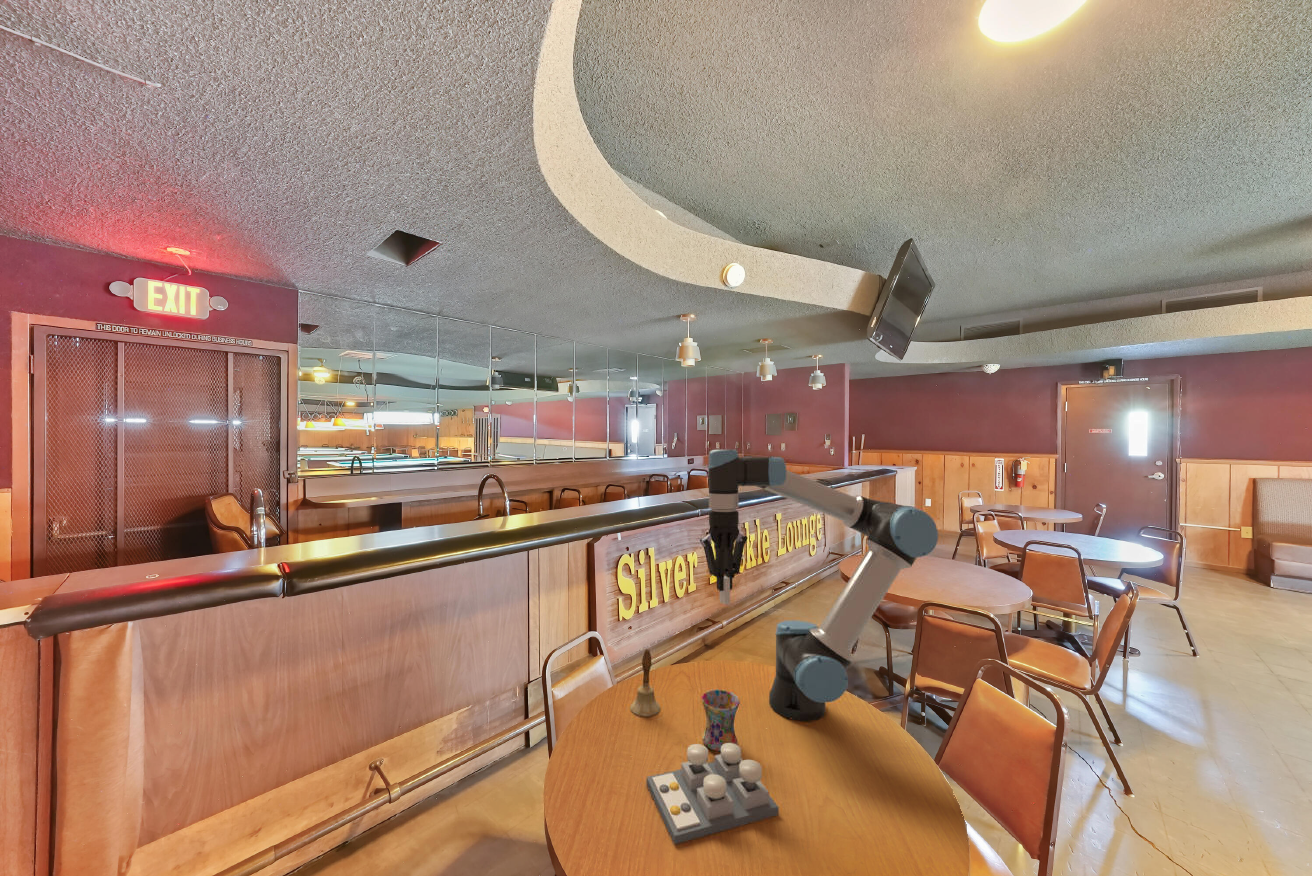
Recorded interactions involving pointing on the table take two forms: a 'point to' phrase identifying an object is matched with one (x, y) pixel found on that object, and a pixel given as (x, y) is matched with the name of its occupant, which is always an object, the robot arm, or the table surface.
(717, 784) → the button
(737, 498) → the robot arm
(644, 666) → the hand bell
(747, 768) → the button
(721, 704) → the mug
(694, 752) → the button
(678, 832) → the board
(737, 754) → the button
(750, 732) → the table surface
